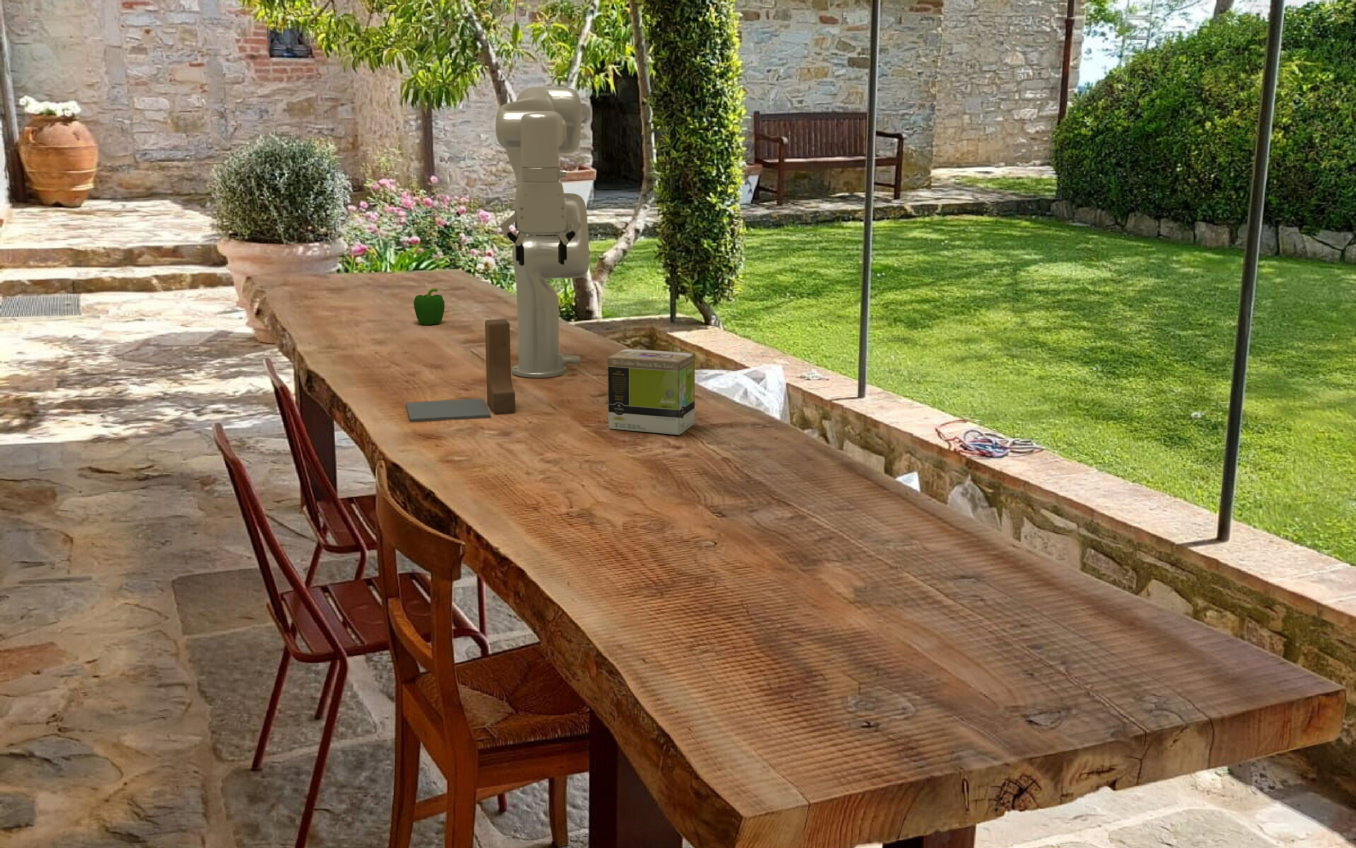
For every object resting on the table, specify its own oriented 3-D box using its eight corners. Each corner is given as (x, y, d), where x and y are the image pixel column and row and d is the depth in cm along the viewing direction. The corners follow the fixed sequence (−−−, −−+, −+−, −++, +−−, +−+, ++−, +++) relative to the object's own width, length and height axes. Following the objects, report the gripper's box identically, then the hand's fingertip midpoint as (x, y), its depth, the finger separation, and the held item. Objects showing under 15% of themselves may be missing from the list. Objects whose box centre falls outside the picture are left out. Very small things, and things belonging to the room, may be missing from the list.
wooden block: (515, 413, 264) (513, 326, 260) (493, 414, 263) (491, 327, 258) (508, 402, 272) (506, 318, 268) (486, 404, 271) (484, 319, 267)
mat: (482, 401, 273) (482, 398, 273) (490, 417, 260) (490, 414, 260) (405, 405, 269) (405, 402, 269) (410, 421, 256) (410, 419, 256)
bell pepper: (408, 325, 357) (407, 289, 354) (423, 320, 364) (421, 285, 362) (436, 327, 354) (434, 291, 352) (449, 322, 362) (448, 286, 359)
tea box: (695, 424, 257) (696, 351, 253) (679, 437, 248) (680, 361, 244) (625, 417, 262) (625, 346, 258) (606, 429, 253) (606, 355, 249)
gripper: (579, 174, 263) (580, 260, 268) (494, 175, 259) (496, 262, 264) (586, 177, 256) (587, 265, 261) (498, 177, 252) (501, 267, 257)
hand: (541, 263), depth 262 cm, fingers open, 7 cm apart
